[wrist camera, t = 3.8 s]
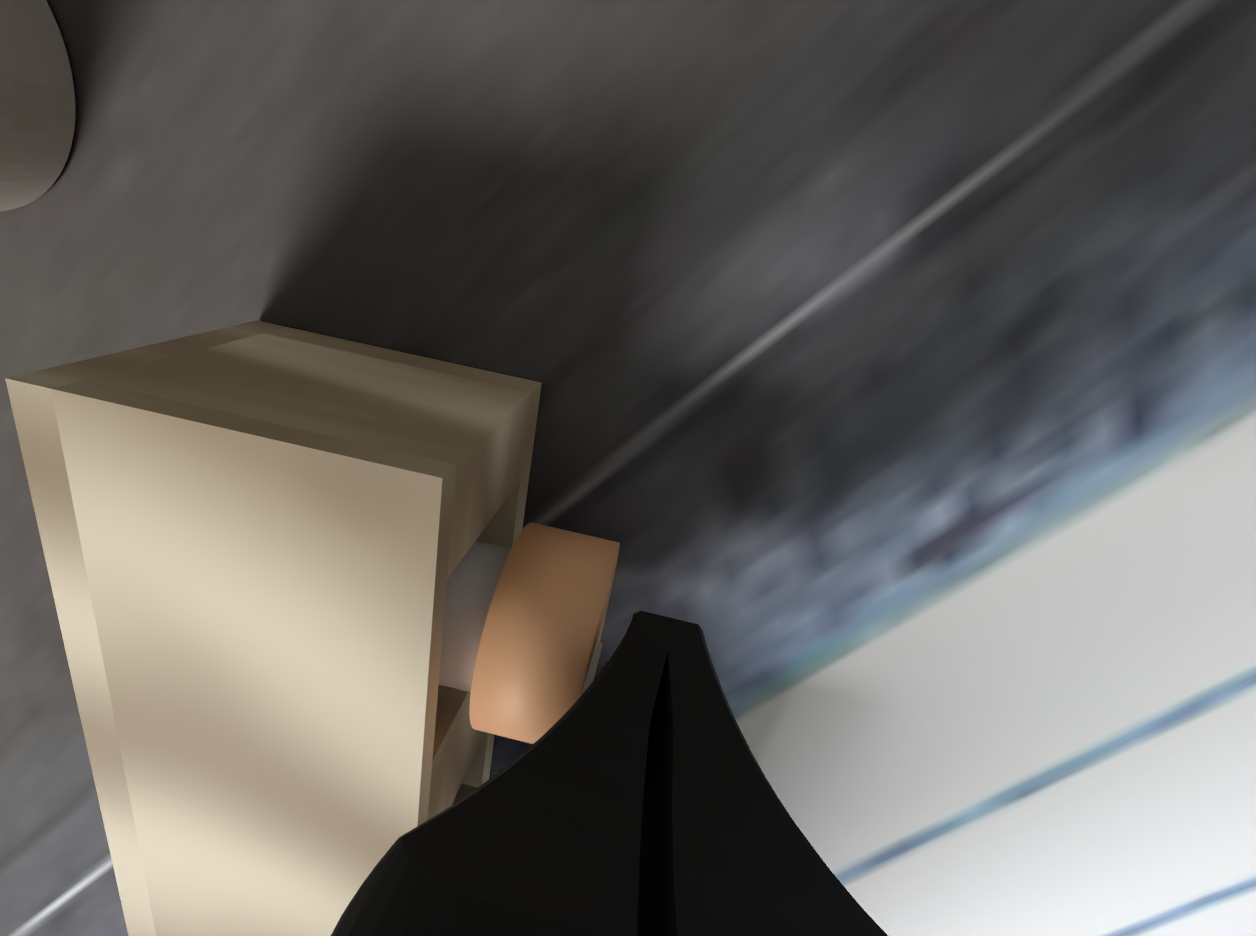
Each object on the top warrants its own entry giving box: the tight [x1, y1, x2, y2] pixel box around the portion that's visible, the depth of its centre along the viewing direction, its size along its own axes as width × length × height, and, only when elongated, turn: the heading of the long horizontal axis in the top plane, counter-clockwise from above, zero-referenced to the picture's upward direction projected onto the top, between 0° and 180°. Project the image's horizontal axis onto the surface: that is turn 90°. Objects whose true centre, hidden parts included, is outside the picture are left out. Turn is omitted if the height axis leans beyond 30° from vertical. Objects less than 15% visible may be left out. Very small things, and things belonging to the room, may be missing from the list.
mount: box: [5, 320, 542, 936], centre depth 14 cm, size 15×6×5 cm, turn 169°
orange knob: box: [439, 522, 620, 744], centre depth 12 cm, size 7×4×4 cm, turn 79°
